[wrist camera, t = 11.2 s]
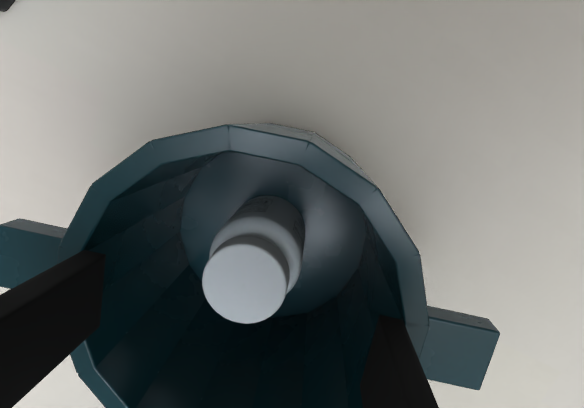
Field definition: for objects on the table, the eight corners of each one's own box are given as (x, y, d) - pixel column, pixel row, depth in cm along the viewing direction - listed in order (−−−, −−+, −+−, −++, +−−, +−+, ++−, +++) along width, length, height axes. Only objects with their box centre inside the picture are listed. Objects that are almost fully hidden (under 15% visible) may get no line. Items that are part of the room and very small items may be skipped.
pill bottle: (219, 240, 23) (170, 300, 15) (256, 180, 22) (222, 211, 14) (281, 277, 23) (263, 354, 15) (319, 219, 22) (320, 271, 14)
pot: (140, 96, 21) (-20, 73, 11) (447, 158, 21) (569, 193, 11) (121, 292, 24) (-21, 415, 14) (391, 350, 24) (445, 521, 14)
